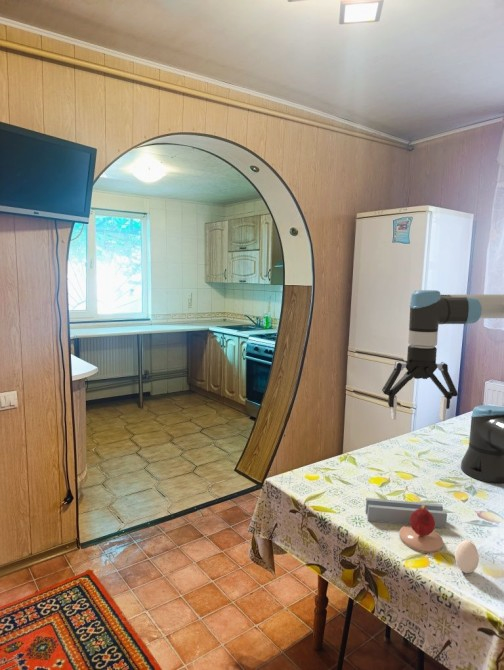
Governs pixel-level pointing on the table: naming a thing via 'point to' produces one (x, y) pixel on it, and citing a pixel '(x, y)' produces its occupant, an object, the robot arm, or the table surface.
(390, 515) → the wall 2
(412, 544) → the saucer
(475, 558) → the egg
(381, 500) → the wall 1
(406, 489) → the table surface
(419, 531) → the onion
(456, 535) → the table surface
